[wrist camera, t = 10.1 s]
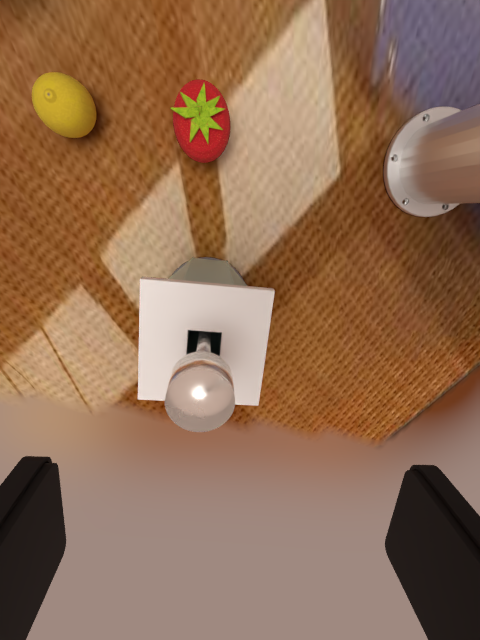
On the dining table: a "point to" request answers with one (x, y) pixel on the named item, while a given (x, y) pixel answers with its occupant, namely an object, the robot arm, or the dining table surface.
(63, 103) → the lemon
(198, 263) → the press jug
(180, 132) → the strawberry
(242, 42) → the dining table surface
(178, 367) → the plunger
